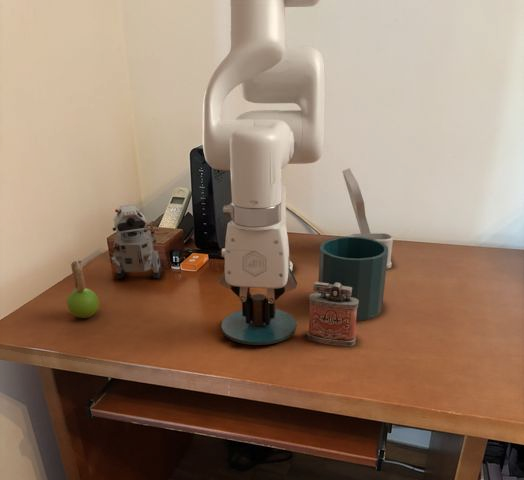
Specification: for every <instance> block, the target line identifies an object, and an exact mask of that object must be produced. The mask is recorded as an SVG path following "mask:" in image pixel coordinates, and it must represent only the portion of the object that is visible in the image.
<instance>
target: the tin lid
mask: <svg viewBox="0 0 524 480" xmlns="http://www.w3.org/2000/svg"><path fill="white" fill-rule="evenodd" d="M251 295H252V296H251V323H249V324H246V317H243V314H242V309H240V310H237V311H234V312H232V313H230V314H228V315H227V316H226V317H225V318H223V320H222V322H221V331H222V334H223V335H224V336H225V337H226V338H228V339H229V340H231V341H234V342H236V343H240V344H243V345H252V346H264V345H265V346H266V345H272V344H273V345H274V344H277V343H280V342H283V341H285V340H288V339H289V338H291V337H292V336H293V335H294V334H295V332H296V330H297V321H296V319H295V317H293V316H292V315H291V314H289V313H288V312H286V311H284V310H280V309H276V308H275V317H274V319H273V318H271V321H270V324H269V325H266V324H265V302H266V299H267V295H265V294H263V293H255V294H251Z"/></svg>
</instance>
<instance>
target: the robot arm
mask: <svg viewBox="0 0 524 480" xmlns="http://www.w3.org/2000/svg"><path fill="white" fill-rule="evenodd" d="M320 1H321V0H230V48H229V52H228V54H227V55H226V56H225V57H224V59H222V61H221V62H220V63H219V64H218V66H217V67H216V69H215V70H214V72H213V73H212V75H211V77H210V79H209V81H208V84H207V86H206V89H205V91H204V95H203V101H202V150H203V155H204V156H203V157H204V159H205V161H206V163H207V165H208V166H209V167H211V168H212V169H215V170H218V171H230V187H231V188H230V191H231V203H230V204H228V205H223V207H222V213H223V215H227V216H230V218H231V220H230V221H229V222H228V223H227V226H226V231H225V243H224V244H225V245H224V248H221V258H224V259H223V260H224V271H223V273H222V275H221V278H220V279H219V284H220V285H221V286H223V287H225V288H227V289H230V290H231V291H232V292H233V293H234V294H235V295H236V296H237V297H238V298H239V301H240V302H241V310H242V314H243V317H246V324H249V323H251V296H252V295H253V294H252V293H251V288H253V289H254V288H255V289H266V302H265V324H266V325H269V324H270V321H271V318H273V319H274V317H275V309H276V301H277V300H278V299H279V298H281V296H283V295H284V294H286V293H288V292H291V291H293V290H296V289H297V287H298V281H297V280H296V277H295V275H294V273H293V270H294V269H293V266H294V263H293V262H292V261H291V259H290V246H289V245H290V244H289V236H288V230H287V188H286V184H285V181H284V179H283V178H282V170H283V169H284V168H285V167H287V165H303V164H304V165H307V164H314V163H316V162H318V161H319V160H320V159H321V158H322V155H323V151H324V145H325V106H326V105H325V104H326V101H325V97H326V96H325V95H326V93H325V92H326V79H325V78H326V77H325V76H326V75H325V74H326V73H325V72H326V71H325V64H324V59H323V55H322V54H321V52H320V50H318V49H317V48H315V47H314V46H308V45H286V37H285V36H286V33H285V32H286V28H285V27H286V25H285V24H286V22H285V21H286V20H285V19H286V17H285V16H286V8H308V7H314V6H316V5H318V3H320ZM238 86H239V91H240V95H241V97H242V98H243V99H244V100H245V101H247V102H249V103H253V104H296V105H297V106H298V107H299V108H300V110H299V109H298V110H297V109H296V110H295V109H293V110H290V109H289V110H287V109H286V110H280V109H276V110H274V109H269V110H267V109H266V110H264V109H263V110H250V111H246V112H243V113H241V114H239V115H238V116H237V117H236V118H235V119H221V116H222V115H221V114H222V107H223V104H224V102H225V99H226V98H227V96H228V95H229V94H230V93H231V92H232V91H233V90H234V89H235V88H236V87H238Z"/></svg>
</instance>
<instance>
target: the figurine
mask: <svg viewBox="0 0 524 480" xmlns="http://www.w3.org/2000/svg"><path fill="white" fill-rule="evenodd" d="M114 212H115V213H116V215H115V216H114V218H113V224H114V227H112V229H111V230H112V231H113V232H116V231H117V234H116V236H115V239H114V241H113V243H112V244H113V245H112V249H113V251H114V252H113V253H112V254H113V255H112V257H111V261H112V264H114V266H115V278H116V279H117V280H122V279H123V278H124V276H125V274H126V273H145V272H148V271H149V270H152V279H160V276H161V274H162V270H163V269H162V265H161V261H160V254H159V250H155V249H154V248H155V247H154V243H155V244H156V243H157V237H156V231H155V227H154V226H152V225H151V224H148V222H147V219H146V217H145V215H144V213H142V212H141V211H140V210H139V209H138V208H137V207H136V206H135V205H134V204H127V205H126V204H125V205H120V206H119V207H118V208H115V210H114ZM148 227H149V229H147V228H148Z"/></svg>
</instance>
